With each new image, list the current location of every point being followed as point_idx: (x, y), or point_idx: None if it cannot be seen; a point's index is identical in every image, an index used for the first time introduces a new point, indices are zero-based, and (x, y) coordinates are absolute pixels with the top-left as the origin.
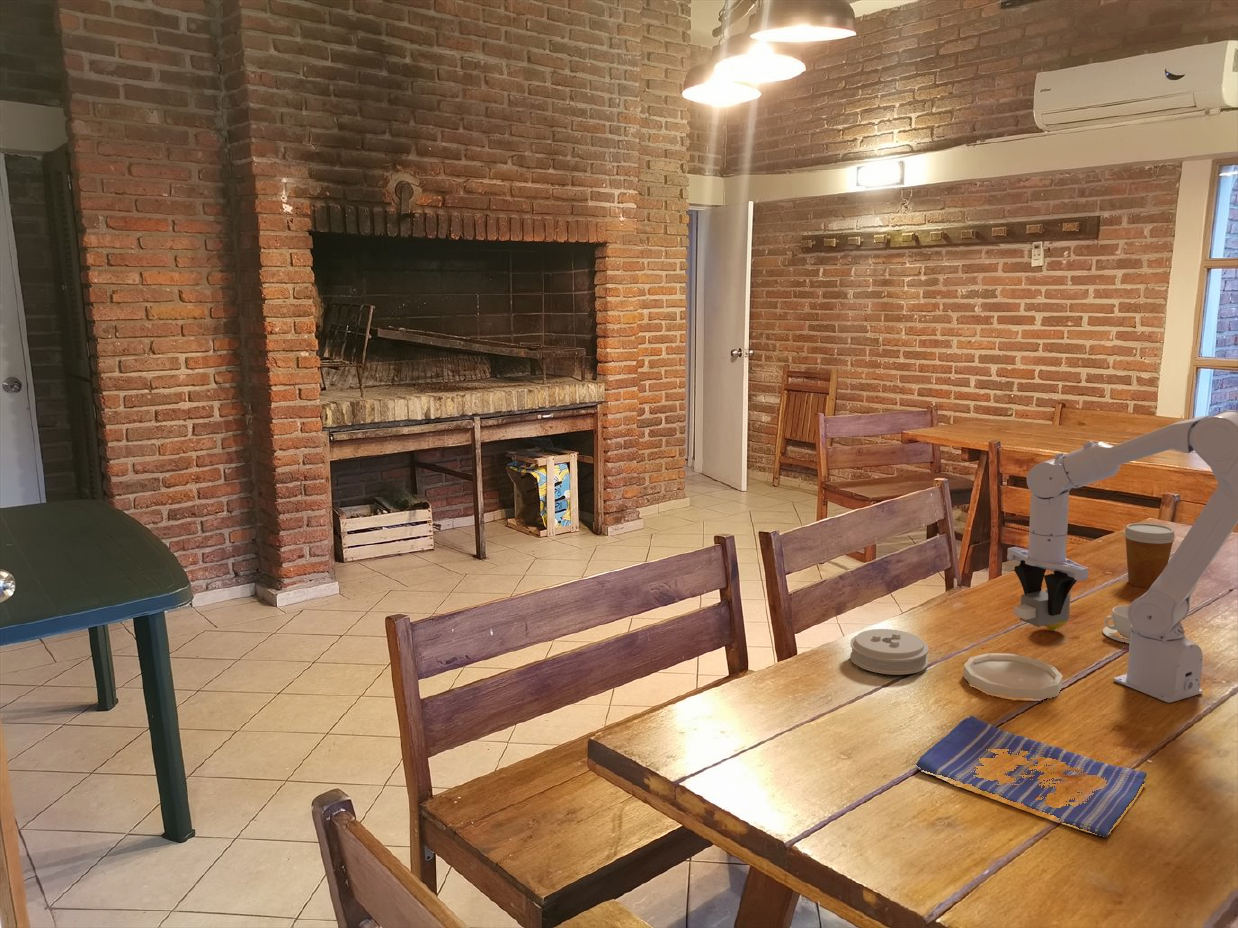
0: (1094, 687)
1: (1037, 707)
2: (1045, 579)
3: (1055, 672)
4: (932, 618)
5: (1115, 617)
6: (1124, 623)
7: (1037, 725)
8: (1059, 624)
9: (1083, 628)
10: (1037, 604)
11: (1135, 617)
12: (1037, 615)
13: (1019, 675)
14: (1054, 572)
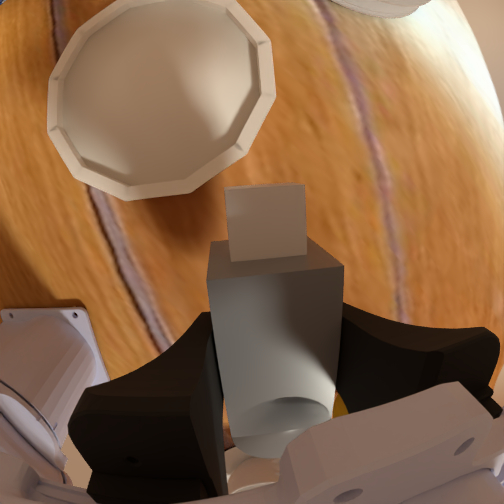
0: (71, 248)
1: (50, 68)
2: (181, 392)
3: (94, 174)
4: (494, 215)
5: (277, 475)
6: (254, 473)
7: (17, 37)
8: (336, 399)
9: None
10: (223, 270)
11: None
12: (218, 253)
13: (143, 97)
14: (191, 492)
